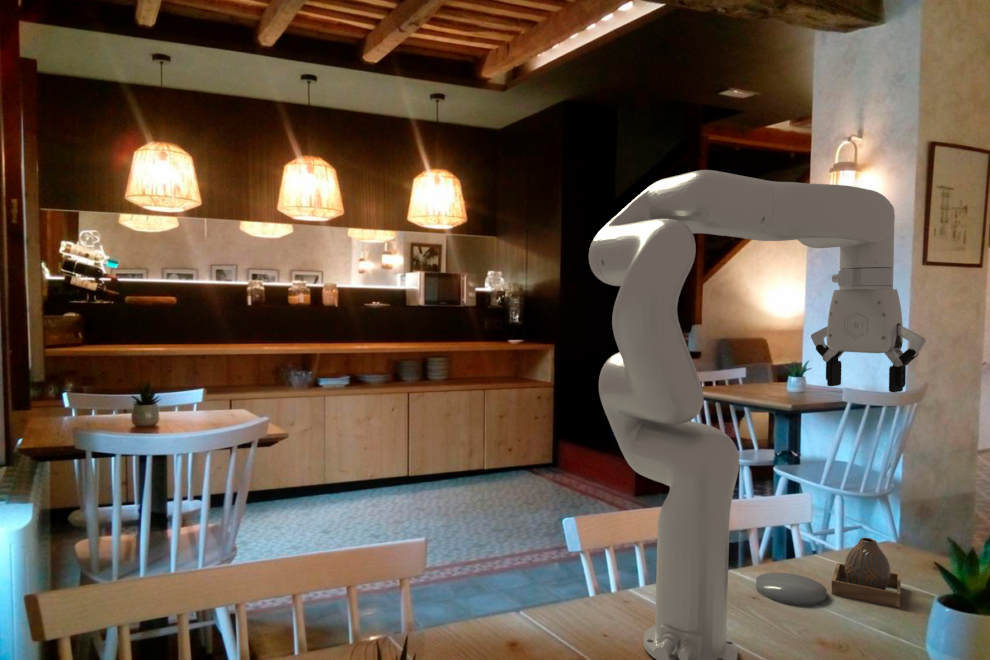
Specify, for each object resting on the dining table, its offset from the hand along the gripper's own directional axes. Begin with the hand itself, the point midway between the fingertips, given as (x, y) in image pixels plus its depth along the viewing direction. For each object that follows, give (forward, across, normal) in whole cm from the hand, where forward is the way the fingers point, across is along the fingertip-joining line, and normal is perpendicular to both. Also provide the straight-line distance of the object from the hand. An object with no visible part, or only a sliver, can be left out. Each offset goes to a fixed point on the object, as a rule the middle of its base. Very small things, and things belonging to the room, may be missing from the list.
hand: (863, 388), depth 112 cm
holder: (+36, -3, +8) cm, 36 cm away
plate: (+35, -10, -4) cm, 37 cm away
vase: (+36, -3, +8) cm, 37 cm away
